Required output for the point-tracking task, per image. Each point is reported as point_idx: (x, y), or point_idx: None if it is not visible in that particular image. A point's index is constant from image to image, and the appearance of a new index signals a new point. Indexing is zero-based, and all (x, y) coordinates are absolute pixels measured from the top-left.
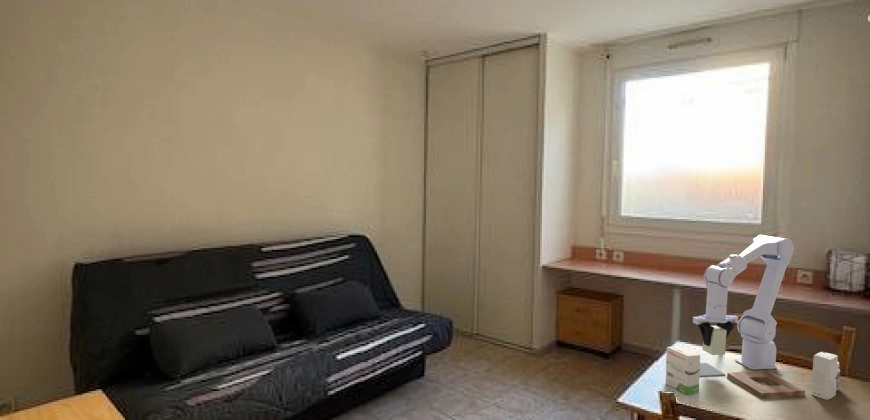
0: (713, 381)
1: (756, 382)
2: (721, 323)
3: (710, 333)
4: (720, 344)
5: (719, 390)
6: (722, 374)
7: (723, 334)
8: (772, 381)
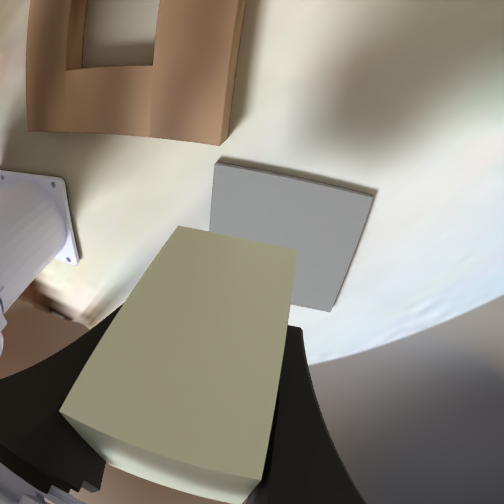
0: (348, 126)
1: (161, 2)
2: (71, 480)
3: (298, 447)
4: (195, 295)
5: (412, 38)
6: (231, 166)
7: (119, 379)
8: (72, 30)
